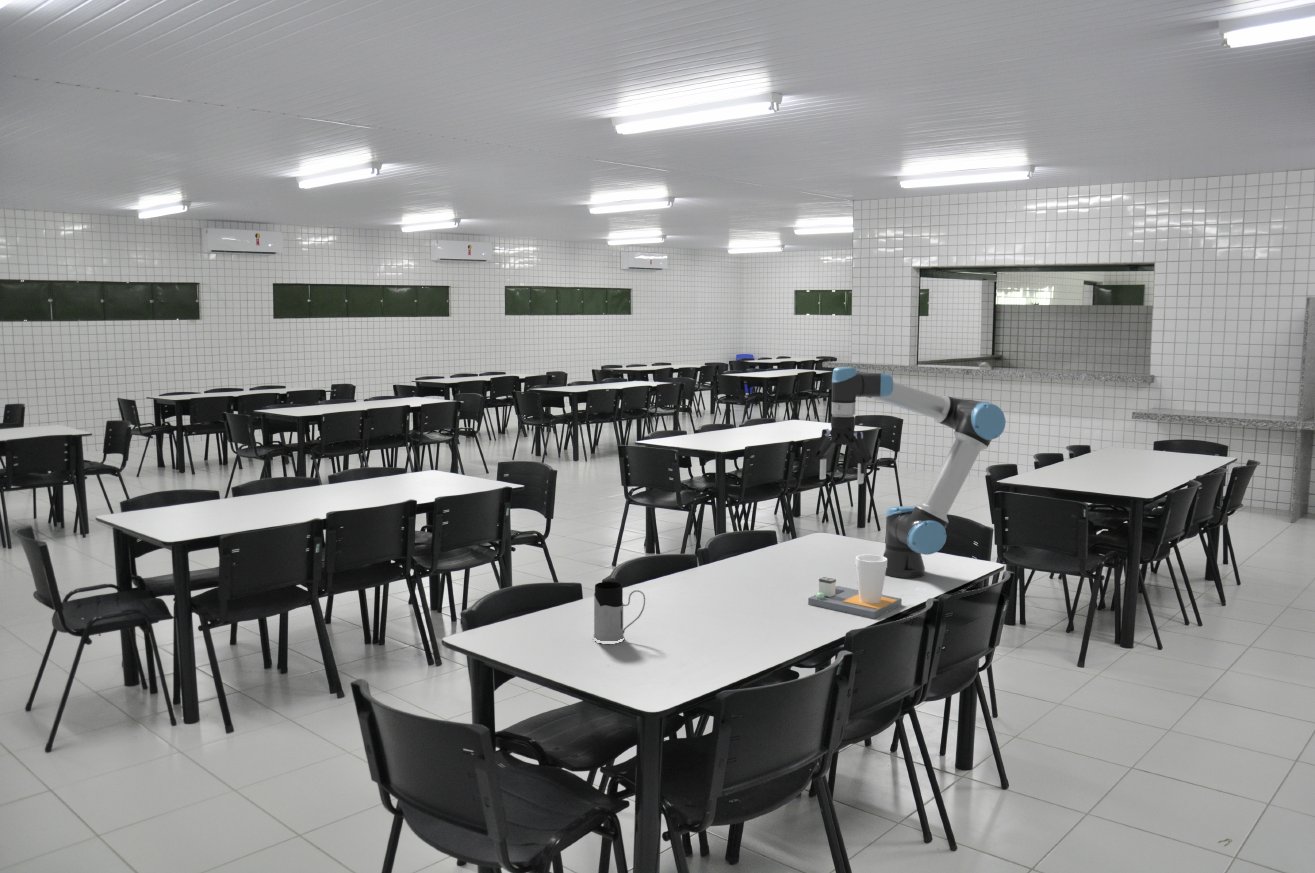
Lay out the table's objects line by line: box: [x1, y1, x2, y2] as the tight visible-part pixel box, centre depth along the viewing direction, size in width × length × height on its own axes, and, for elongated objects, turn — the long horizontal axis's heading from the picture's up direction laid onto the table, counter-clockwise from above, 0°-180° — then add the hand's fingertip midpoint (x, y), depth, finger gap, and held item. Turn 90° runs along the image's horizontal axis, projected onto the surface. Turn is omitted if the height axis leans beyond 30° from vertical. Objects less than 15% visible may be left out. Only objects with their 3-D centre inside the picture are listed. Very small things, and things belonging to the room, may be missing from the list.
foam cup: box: [854, 554, 887, 603], centre depth 290 cm, size 10×9×13 cm
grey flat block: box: [807, 585, 903, 620], centre depth 294 cm, size 18×22×4 cm
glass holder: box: [593, 581, 646, 641], centre depth 260 cm, size 9×14×15 cm, turn 88°
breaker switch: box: [818, 576, 837, 597], centre depth 297 cm, size 3×4×5 cm
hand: (841, 481), depth 311 cm, fingers open, 13 cm apart
